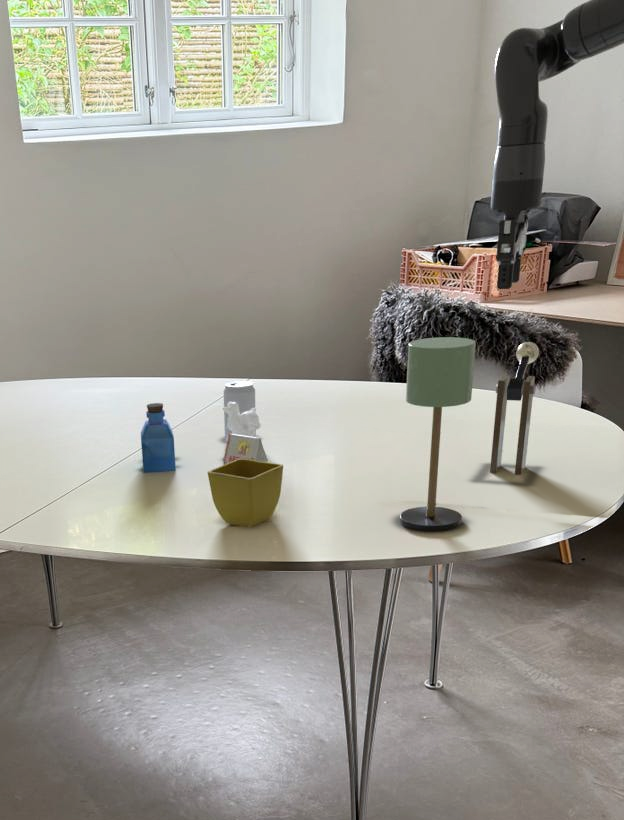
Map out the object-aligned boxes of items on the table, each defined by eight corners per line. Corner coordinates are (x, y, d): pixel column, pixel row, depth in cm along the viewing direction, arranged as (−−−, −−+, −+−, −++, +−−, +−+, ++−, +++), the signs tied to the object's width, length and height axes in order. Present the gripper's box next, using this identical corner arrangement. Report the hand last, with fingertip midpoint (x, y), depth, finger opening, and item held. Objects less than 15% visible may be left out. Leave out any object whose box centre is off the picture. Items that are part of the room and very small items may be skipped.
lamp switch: (518, 355, 164) (518, 337, 162) (540, 355, 163) (541, 337, 160) (502, 403, 158) (502, 385, 155) (525, 404, 156) (525, 385, 153)
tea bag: (237, 486, 169) (236, 431, 165) (268, 492, 165) (267, 435, 160) (224, 492, 167) (222, 436, 163) (254, 498, 163) (253, 440, 158)
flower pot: (208, 525, 152) (205, 471, 148) (241, 510, 157) (239, 457, 153) (252, 535, 146) (251, 478, 142) (285, 519, 152) (285, 464, 148)
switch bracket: (488, 467, 169) (497, 371, 161) (536, 471, 165) (547, 372, 157) (476, 484, 161) (485, 383, 153) (526, 488, 157) (537, 385, 150)
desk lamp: (442, 512, 149) (454, 335, 138) (472, 530, 142) (488, 343, 130) (389, 520, 148) (397, 341, 136) (417, 538, 140) (428, 350, 128)
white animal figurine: (234, 471, 178) (232, 407, 173) (212, 464, 183) (210, 402, 178) (268, 461, 182) (268, 398, 177) (246, 455, 187) (244, 394, 182)
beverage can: (229, 437, 200) (227, 380, 195) (259, 438, 198) (258, 380, 193) (221, 445, 195) (219, 386, 190) (252, 446, 193) (250, 386, 188)
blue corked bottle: (175, 470, 182) (171, 407, 176) (143, 472, 182) (138, 409, 176) (174, 461, 187) (170, 400, 182) (142, 463, 187) (138, 402, 182)
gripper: (537, 177, 143) (526, 290, 150) (548, 173, 154) (537, 279, 161) (485, 180, 146) (476, 291, 153) (500, 177, 157) (491, 280, 164)
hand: (508, 285), depth 157 cm, fingers open, 8 cm apart
